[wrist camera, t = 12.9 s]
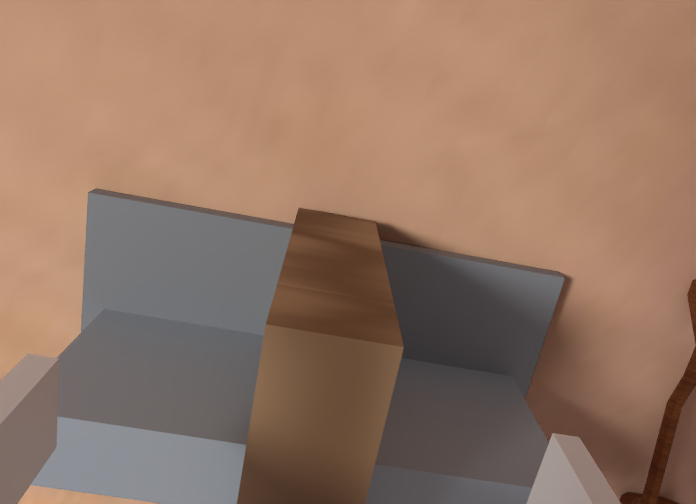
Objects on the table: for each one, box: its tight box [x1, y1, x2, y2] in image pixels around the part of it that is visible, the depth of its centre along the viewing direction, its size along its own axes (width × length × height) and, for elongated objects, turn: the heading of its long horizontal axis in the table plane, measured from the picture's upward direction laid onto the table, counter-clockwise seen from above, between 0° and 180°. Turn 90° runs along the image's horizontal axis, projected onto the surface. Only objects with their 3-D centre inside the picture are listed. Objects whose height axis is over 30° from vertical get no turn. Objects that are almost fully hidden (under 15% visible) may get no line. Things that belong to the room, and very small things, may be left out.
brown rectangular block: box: [237, 208, 404, 504], centre depth 22 cm, size 4×16×12 cm, turn 169°
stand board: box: [31, 189, 565, 504], centre depth 25 cm, size 22×14×9 cm, turn 79°
